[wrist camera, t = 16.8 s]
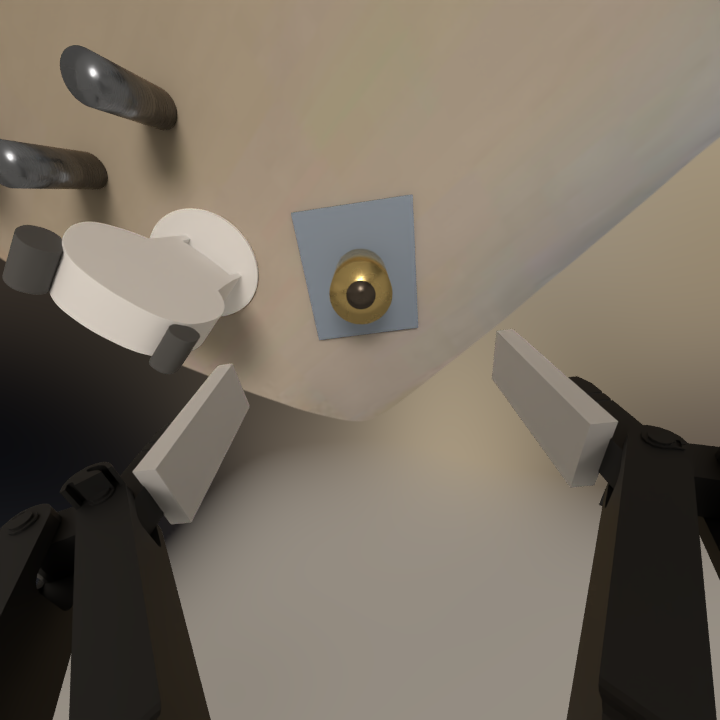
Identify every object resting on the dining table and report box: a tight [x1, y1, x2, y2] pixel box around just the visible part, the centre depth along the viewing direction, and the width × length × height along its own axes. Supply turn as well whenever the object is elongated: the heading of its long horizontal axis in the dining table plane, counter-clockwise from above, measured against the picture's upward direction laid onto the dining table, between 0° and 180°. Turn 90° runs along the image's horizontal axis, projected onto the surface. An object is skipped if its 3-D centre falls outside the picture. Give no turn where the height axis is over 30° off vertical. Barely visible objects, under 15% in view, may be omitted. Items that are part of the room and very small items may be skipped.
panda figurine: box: [3, 208, 258, 374], centre depth 26 cm, size 12×11×15 cm
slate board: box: [291, 195, 418, 340], centre depth 33 cm, size 12×14×1 cm
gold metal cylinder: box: [329, 249, 393, 324], centre depth 30 cm, size 6×6×7 cm
